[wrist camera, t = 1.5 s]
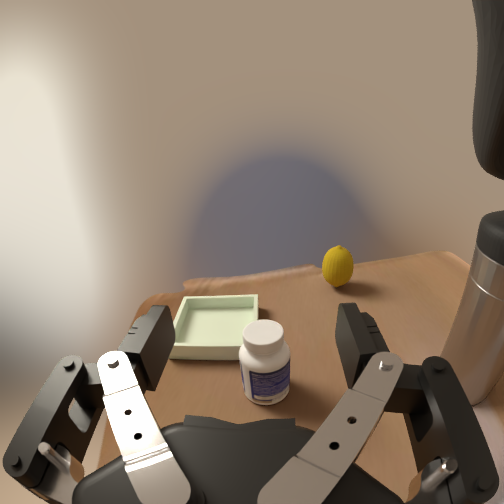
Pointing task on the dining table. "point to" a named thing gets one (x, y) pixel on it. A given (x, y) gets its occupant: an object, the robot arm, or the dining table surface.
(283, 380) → the pill bottle
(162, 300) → the dining table surface
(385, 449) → the dining table surface
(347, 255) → the lemon
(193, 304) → the tray
